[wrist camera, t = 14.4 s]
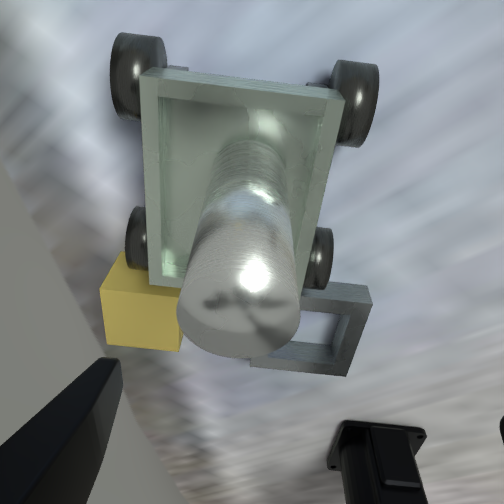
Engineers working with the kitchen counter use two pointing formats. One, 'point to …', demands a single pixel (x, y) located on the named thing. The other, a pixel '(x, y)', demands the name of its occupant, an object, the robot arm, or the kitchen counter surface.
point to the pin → (242, 258)
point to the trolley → (222, 135)
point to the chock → (139, 310)
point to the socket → (345, 338)
